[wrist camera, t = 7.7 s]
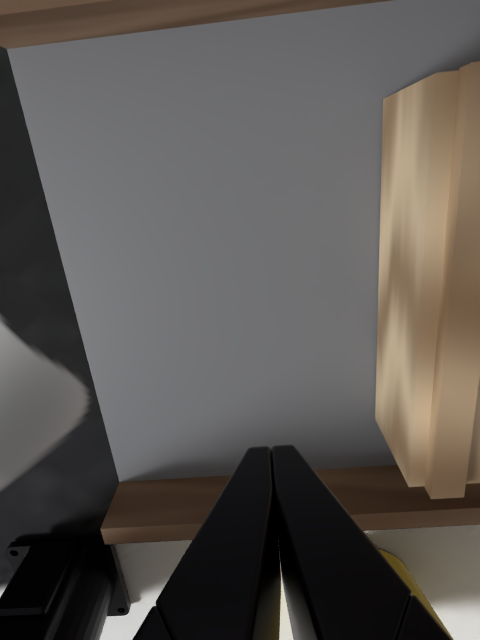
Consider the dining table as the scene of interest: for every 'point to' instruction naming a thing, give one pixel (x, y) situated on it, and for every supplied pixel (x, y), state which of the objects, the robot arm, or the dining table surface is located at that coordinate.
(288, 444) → the robot arm
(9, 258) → the dining table surface
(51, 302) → the dining table surface
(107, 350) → the bay
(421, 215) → the brown wooden box
